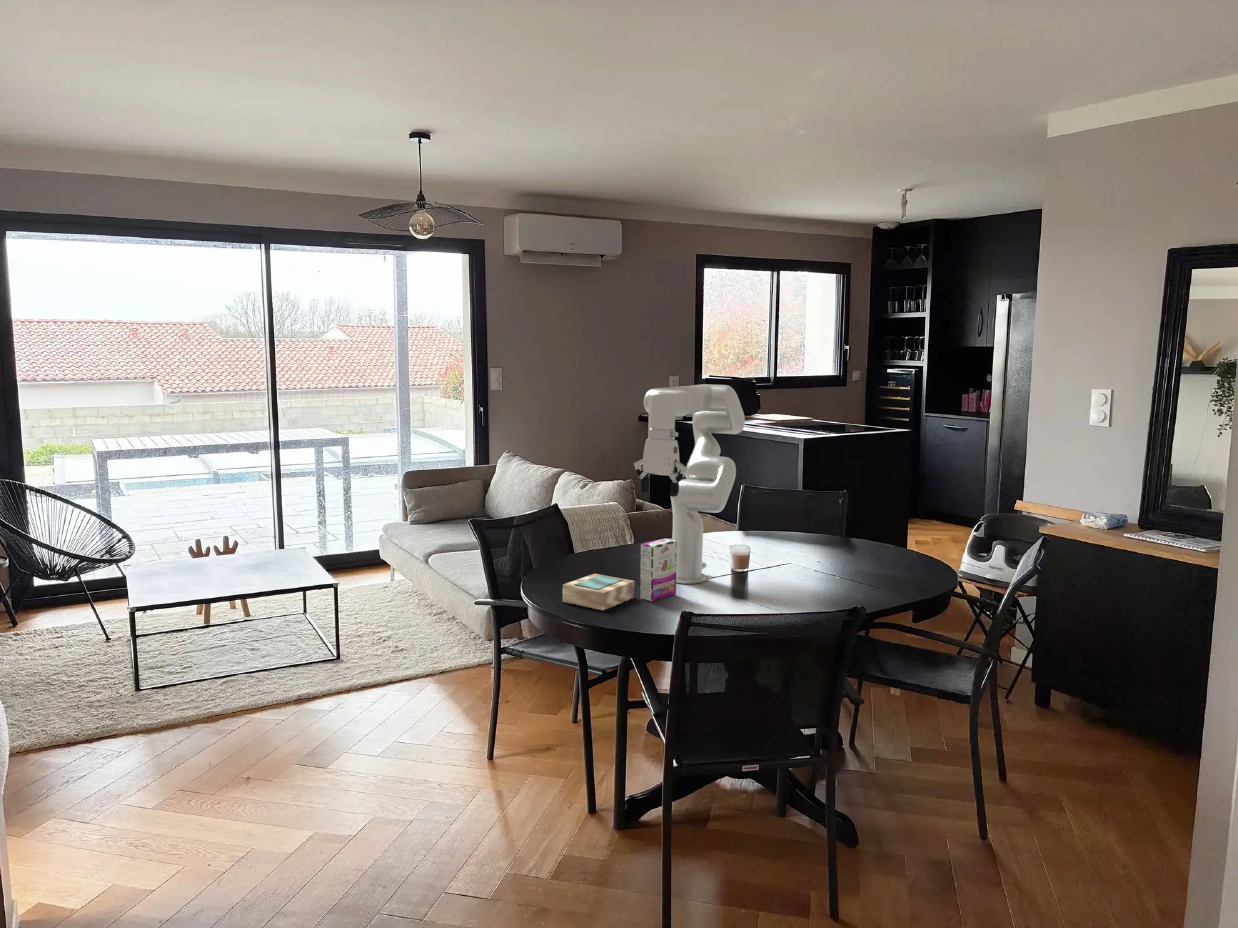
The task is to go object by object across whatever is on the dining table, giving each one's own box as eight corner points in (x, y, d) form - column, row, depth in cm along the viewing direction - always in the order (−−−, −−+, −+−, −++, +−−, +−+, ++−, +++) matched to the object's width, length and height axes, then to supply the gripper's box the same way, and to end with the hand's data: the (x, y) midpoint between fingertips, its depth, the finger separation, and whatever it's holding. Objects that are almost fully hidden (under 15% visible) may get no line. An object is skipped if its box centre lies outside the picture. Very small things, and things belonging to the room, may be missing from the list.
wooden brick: (594, 589, 275) (594, 572, 274) (634, 597, 268) (634, 579, 267) (562, 601, 262) (562, 583, 261) (603, 610, 254) (603, 591, 254)
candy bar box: (663, 591, 275) (664, 537, 273) (676, 594, 272) (677, 540, 269) (638, 598, 267) (639, 543, 265) (651, 602, 263) (653, 546, 261)
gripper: (694, 436, 261) (692, 495, 264) (642, 432, 271) (641, 489, 273) (681, 438, 255) (679, 499, 257) (628, 433, 264) (627, 492, 267)
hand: (659, 494), depth 265 cm, fingers open, 9 cm apart
